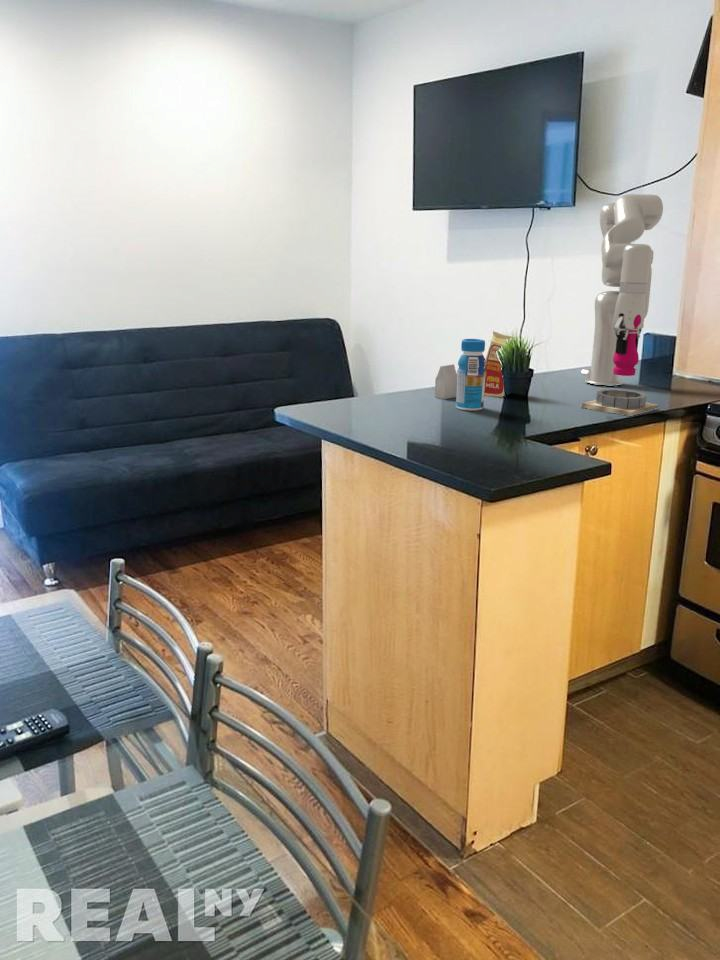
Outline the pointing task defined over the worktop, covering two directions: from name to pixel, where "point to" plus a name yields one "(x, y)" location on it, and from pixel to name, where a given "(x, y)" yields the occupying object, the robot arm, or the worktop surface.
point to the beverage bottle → (471, 375)
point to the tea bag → (446, 382)
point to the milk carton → (494, 367)
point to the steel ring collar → (621, 399)
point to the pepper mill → (628, 353)
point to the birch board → (618, 410)
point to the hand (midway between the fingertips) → (626, 352)
